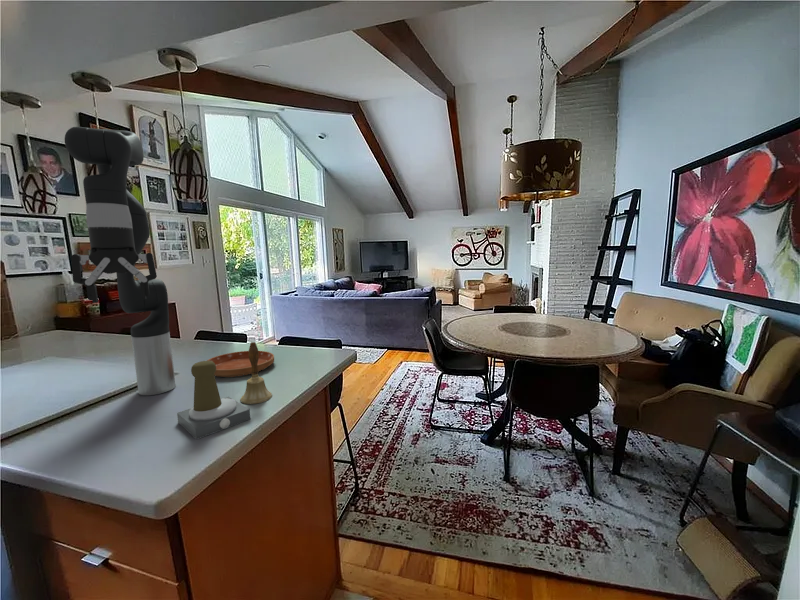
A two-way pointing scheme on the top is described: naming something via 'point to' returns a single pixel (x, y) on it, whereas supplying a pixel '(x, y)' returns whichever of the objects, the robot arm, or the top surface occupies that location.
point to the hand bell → (255, 381)
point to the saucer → (239, 363)
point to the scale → (213, 418)
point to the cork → (205, 386)
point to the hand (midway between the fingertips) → (120, 300)
